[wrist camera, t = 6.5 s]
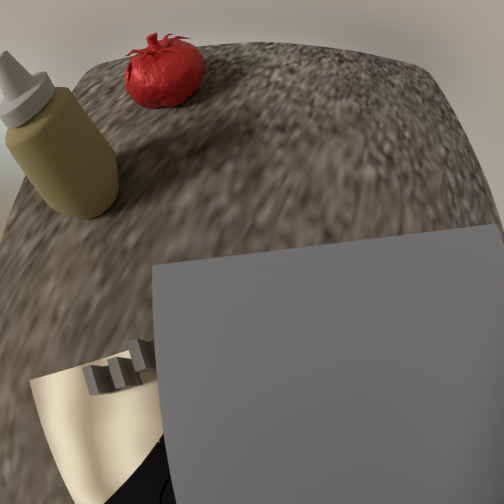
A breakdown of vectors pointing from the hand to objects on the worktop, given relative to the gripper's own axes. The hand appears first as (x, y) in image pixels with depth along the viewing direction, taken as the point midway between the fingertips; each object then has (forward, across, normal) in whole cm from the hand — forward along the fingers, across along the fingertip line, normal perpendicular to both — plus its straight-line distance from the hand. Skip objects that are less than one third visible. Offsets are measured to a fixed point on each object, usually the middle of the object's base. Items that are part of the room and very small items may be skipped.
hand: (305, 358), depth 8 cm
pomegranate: (+32, +9, -13) cm, 36 cm away
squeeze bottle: (+22, +16, -3) cm, 27 cm away
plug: (+3, 0, +5) cm, 6 cm away
